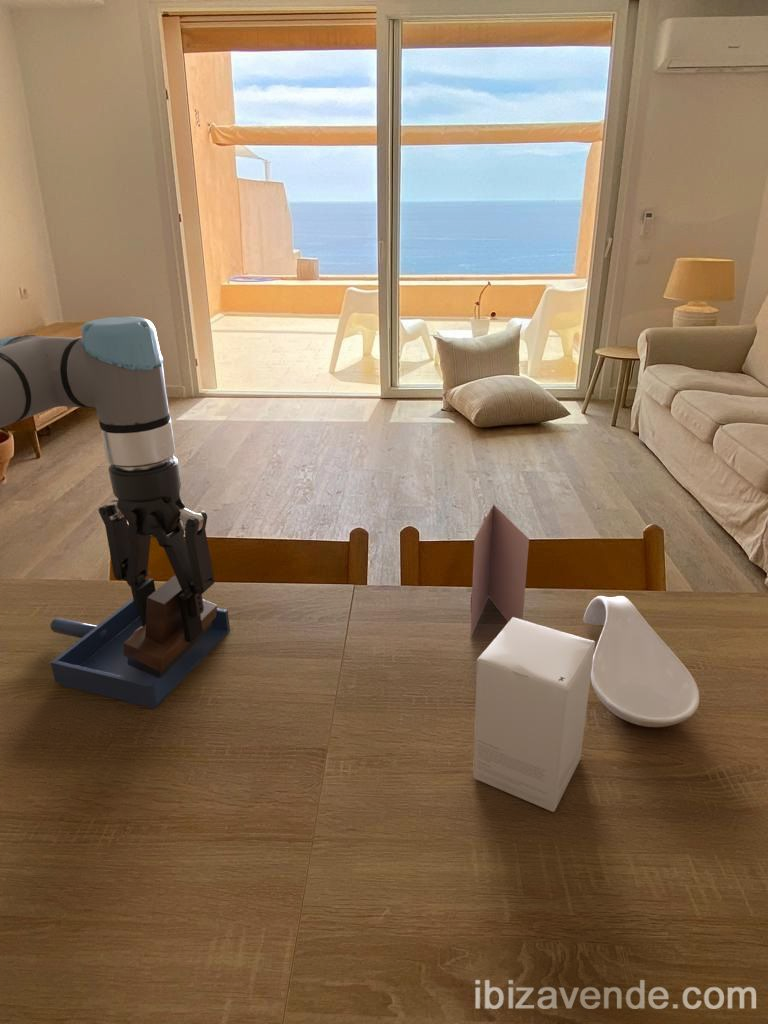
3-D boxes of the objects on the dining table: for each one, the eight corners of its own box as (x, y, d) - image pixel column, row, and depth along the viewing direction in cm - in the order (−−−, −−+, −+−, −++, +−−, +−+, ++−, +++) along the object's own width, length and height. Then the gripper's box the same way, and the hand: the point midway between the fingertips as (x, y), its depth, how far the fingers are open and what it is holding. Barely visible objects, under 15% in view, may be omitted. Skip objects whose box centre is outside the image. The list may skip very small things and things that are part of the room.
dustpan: (230, 630, 97) (227, 610, 95) (154, 708, 82) (150, 686, 80) (97, 603, 104) (93, 584, 102) (5, 671, 89) (-1, 650, 87)
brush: (122, 665, 84) (124, 602, 80) (182, 612, 95) (186, 554, 90) (159, 681, 83) (163, 618, 79) (215, 626, 94) (221, 568, 89)
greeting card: (482, 594, 104) (487, 503, 98) (532, 603, 102) (540, 510, 96) (464, 636, 95) (467, 537, 88) (518, 646, 92) (526, 545, 86)
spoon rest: (712, 744, 75) (724, 690, 72) (603, 745, 75) (611, 692, 72) (639, 622, 97) (646, 577, 94) (554, 623, 97) (559, 578, 94)
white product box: (583, 757, 74) (599, 639, 68) (554, 815, 67) (569, 690, 61) (504, 726, 78) (512, 613, 72) (469, 778, 71) (475, 658, 65)
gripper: (231, 455, 79) (252, 628, 88) (98, 442, 85) (131, 605, 94) (194, 479, 72) (221, 662, 82) (53, 463, 78) (93, 635, 88)
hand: (173, 631), depth 88 cm, fingers closed on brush, 5 cm apart
